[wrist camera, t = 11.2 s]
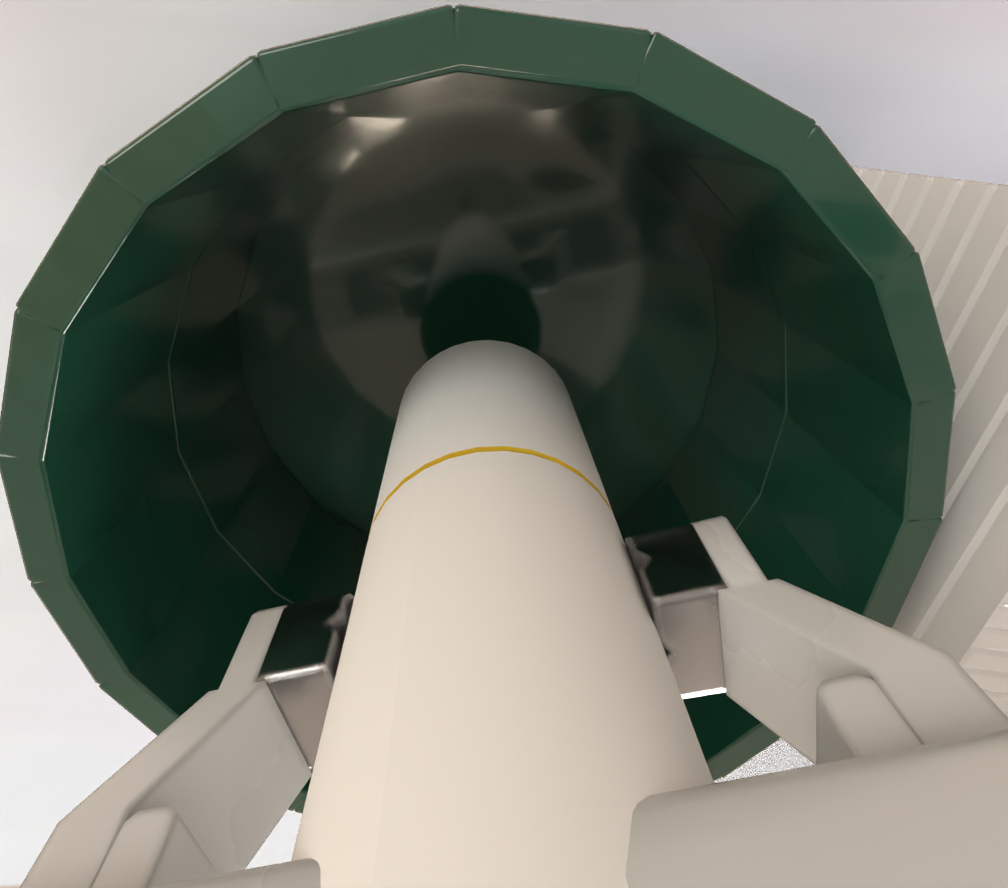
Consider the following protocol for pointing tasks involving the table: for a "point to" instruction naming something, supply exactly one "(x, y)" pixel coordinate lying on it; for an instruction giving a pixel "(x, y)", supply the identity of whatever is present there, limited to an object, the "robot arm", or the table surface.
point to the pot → (461, 332)
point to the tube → (493, 655)
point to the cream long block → (964, 417)
